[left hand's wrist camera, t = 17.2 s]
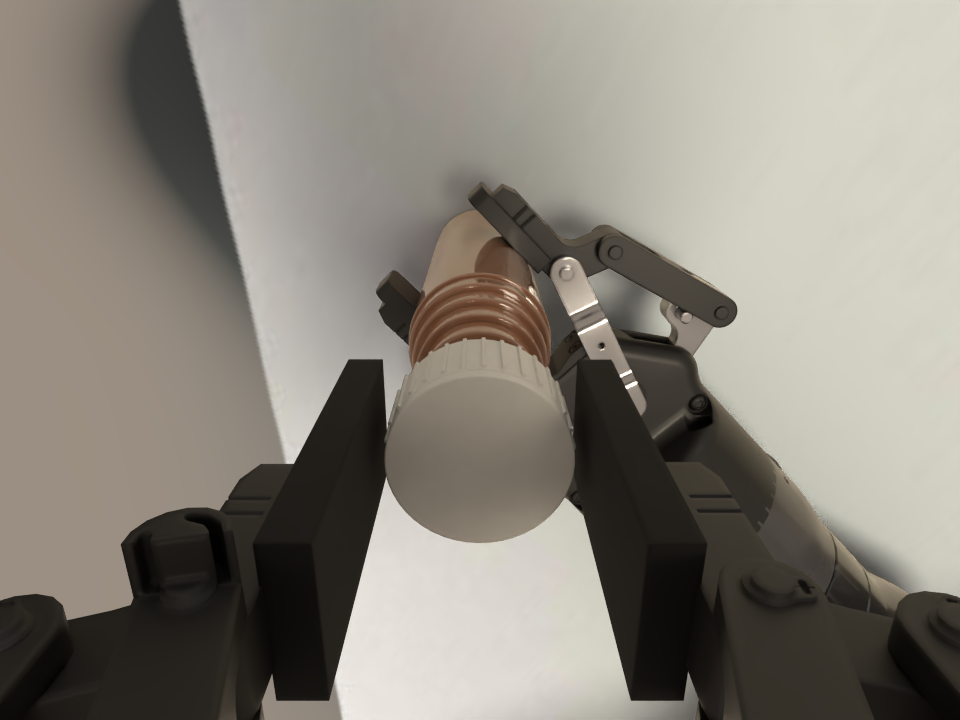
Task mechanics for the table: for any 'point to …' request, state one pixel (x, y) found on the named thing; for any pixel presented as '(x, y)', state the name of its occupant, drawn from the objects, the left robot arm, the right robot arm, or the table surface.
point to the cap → (479, 442)
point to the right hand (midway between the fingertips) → (429, 238)
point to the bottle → (478, 293)
